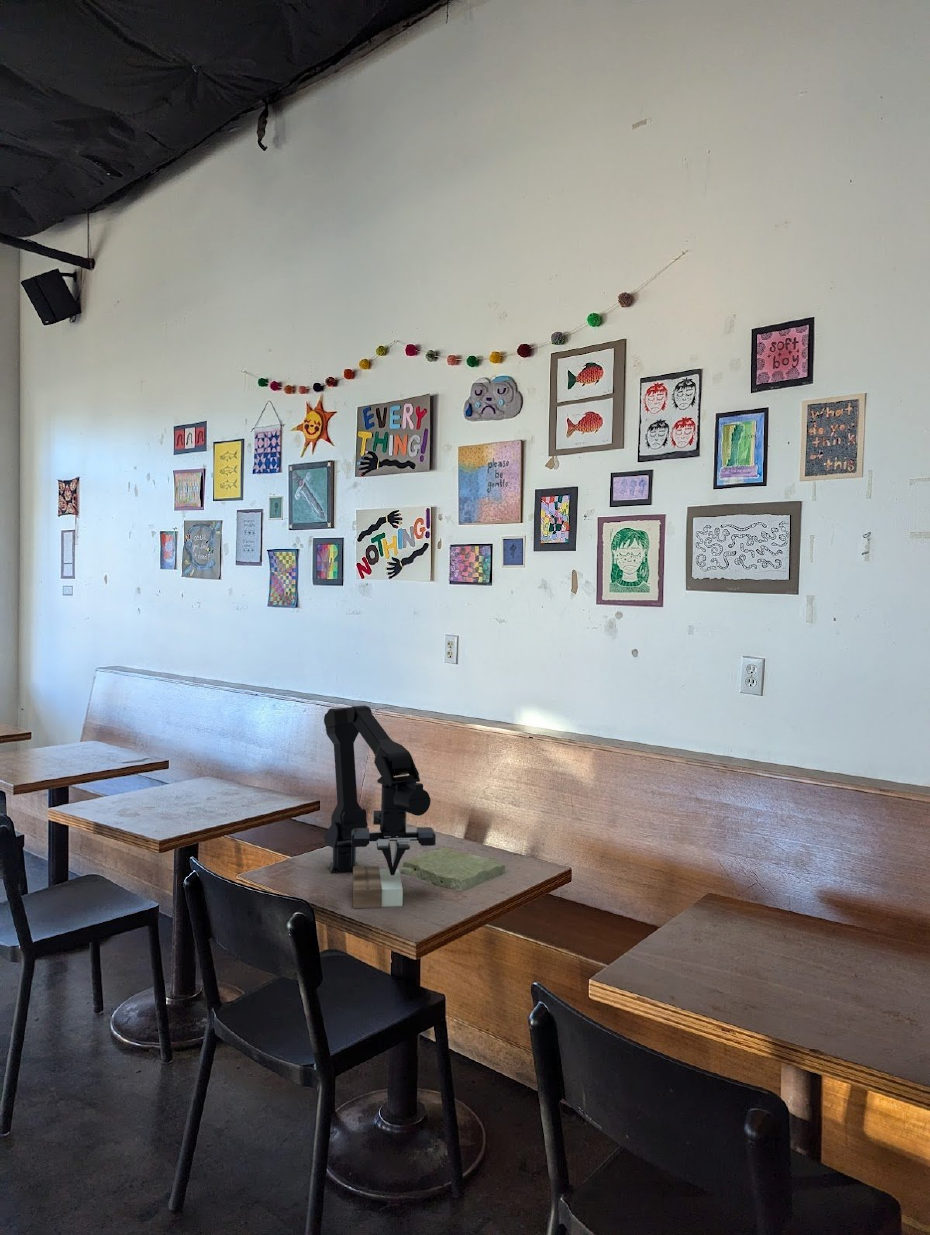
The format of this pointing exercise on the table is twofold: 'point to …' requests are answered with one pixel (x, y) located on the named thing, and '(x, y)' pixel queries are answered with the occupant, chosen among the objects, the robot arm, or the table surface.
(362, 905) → the walnut plank
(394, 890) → the sage plank
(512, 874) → the table surface
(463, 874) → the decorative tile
